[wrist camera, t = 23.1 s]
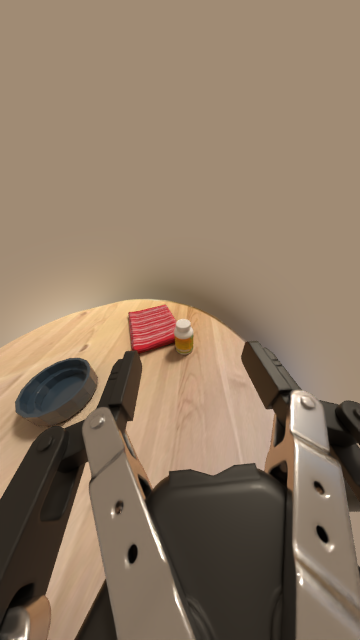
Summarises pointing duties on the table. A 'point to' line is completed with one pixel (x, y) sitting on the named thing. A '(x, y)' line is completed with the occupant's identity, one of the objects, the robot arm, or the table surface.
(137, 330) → the dish towel
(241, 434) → the table surface
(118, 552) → the robot arm
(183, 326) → the supplement bottle
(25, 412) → the fruit bowl
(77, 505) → the table surface
